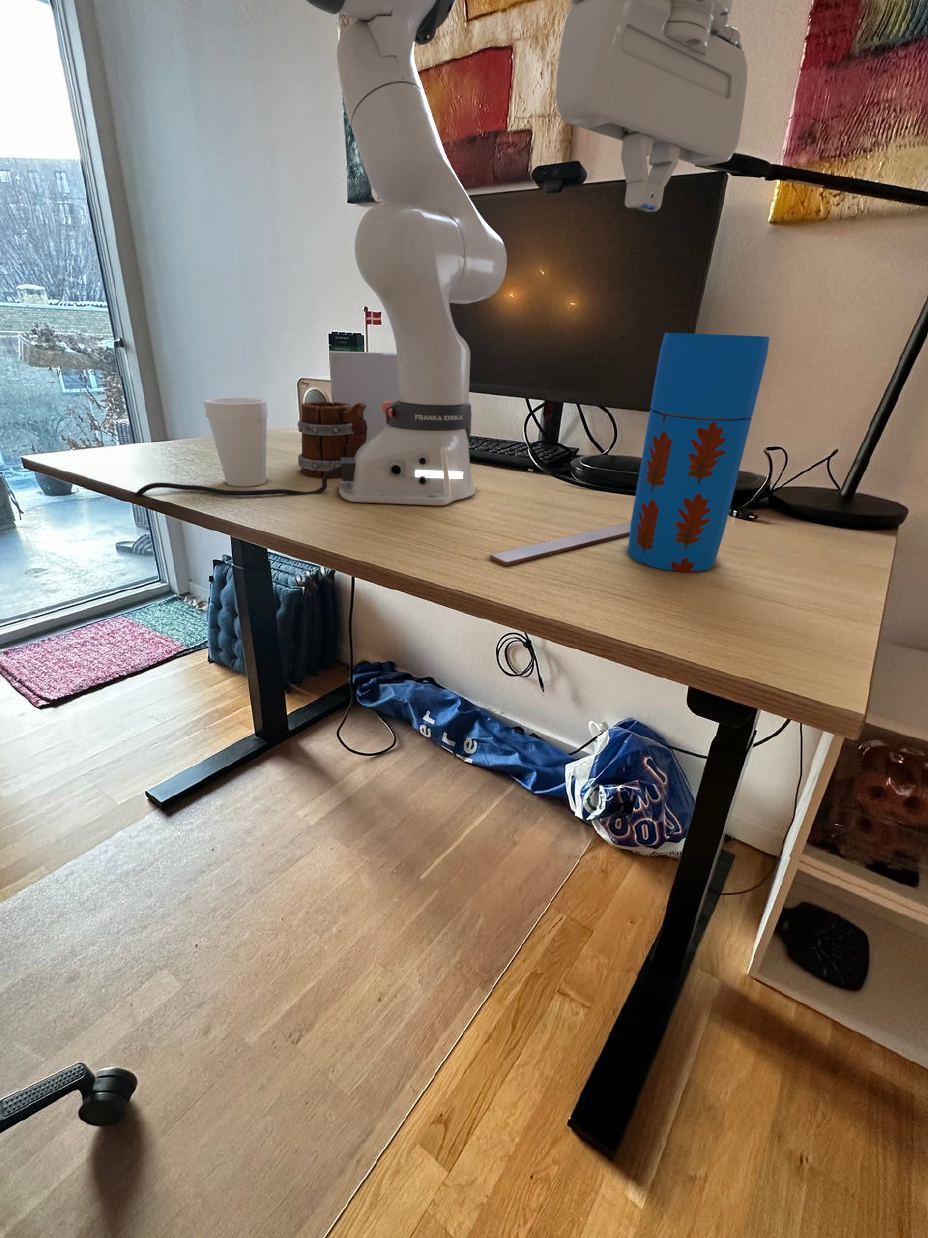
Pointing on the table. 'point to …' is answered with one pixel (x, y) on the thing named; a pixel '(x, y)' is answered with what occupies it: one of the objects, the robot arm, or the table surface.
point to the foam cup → (240, 438)
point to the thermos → (694, 447)
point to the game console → (365, 383)
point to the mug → (330, 435)
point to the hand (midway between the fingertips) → (642, 209)
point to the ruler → (561, 544)
